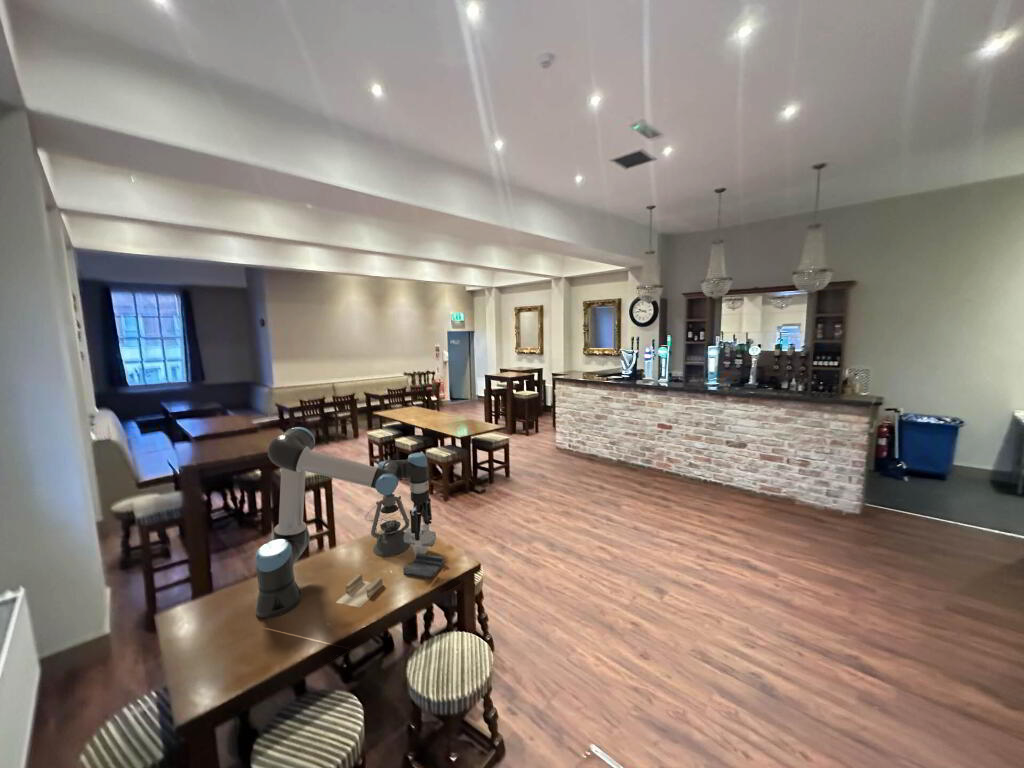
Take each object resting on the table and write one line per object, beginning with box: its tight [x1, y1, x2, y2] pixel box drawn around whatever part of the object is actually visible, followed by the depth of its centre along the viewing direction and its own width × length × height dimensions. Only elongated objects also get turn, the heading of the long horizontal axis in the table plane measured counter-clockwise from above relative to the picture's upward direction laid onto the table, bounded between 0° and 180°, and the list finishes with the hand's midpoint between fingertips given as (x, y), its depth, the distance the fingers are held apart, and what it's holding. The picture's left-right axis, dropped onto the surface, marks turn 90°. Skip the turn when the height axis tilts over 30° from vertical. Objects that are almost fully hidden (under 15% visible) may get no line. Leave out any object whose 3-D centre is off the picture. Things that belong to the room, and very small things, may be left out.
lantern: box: [364, 493, 411, 557], centre depth 191 cm, size 18×20×30 cm
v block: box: [402, 553, 445, 580], centre depth 172 cm, size 13×12×4 cm
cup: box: [410, 524, 431, 556], centre depth 186 cm, size 10×10×11 cm
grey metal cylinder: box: [404, 527, 437, 548], centre depth 171 cm, size 6×12×6 cm, turn 73°
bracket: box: [335, 573, 383, 609], centre depth 157 cm, size 11×14×4 cm
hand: (422, 542), depth 171 cm, fingers closed on grey metal cylinder, 6 cm apart
